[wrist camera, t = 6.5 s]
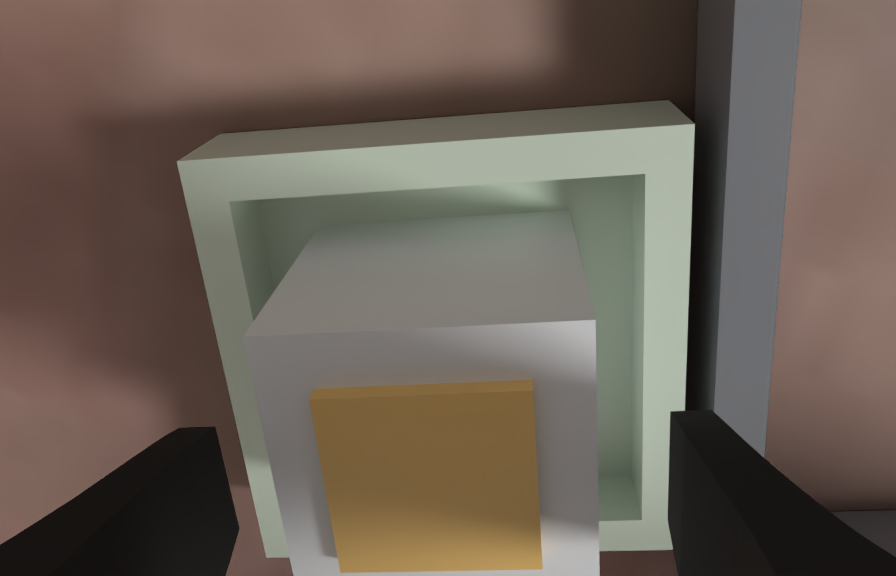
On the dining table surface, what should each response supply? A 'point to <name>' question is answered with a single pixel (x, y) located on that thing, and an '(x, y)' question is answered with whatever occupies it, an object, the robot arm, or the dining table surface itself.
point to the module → (433, 399)
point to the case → (744, 217)
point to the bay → (472, 194)
